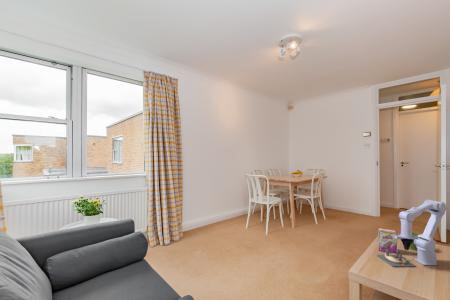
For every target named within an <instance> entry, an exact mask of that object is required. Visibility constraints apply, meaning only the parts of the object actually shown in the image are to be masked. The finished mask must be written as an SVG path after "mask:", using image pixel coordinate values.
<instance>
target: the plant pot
mask: <svg viewBox="0 0 450 300" xmlns="http://www.w3.org/2000/svg"><path fill="white" fill-rule="evenodd" d="M412 235H415V236H418V235H421V234H420V233H418V232H413V231H412ZM411 240H413V242H412V244H411V245H410V247H409V250H413V251H417V247H416V245H415V244H414V240H415V239H411Z"/></svg>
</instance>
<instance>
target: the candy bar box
mask: <svg viewBox="0 0 450 300" xmlns="http://www.w3.org/2000/svg"><path fill="white" fill-rule="evenodd" d="M395 235H398V233H397V231H396V230H394V229H386V228H380V227H379V228H378V238H377V239H378V251H380V252H384V253H386V249H387V250H389V253H394V254H396V250H397V249H398V246H397V245H398V239H396V238H395Z"/></svg>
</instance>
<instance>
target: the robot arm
mask: <svg viewBox="0 0 450 300" xmlns="http://www.w3.org/2000/svg"><path fill="white" fill-rule="evenodd" d="M447 209H448V207H447V205H446V202H443V201H436V200H433V199H425V200H424V201H423V203H421V204H420V205H419V206H417V207H416V206H412V207H411V208H410V209H407V210H402V211H400V212H399V213H398V218H399V221H400V234H397V235H395V238H396V239H397V240H400V241H401V243H402V246H403V249H404V250H406V251H409V250H410V249H409V247H410V245H411V244H412V242H413V240H411V239H415V240H414V244H415V245H416V247H417V250H416V251H417V258H413V259H414V261H415V262H418V263H420V264H422V265H424V266H438V265H439V264H438V263H437V253H436V251H435V249H436V244H437V242H436V240H435V239H434V236H435V234H436V232H437V229H438V227H439V225H440V223H441V221H442V219H443V216H445V213H446V211H447ZM426 211H427V212H429V213H430V217H429V218H428V221H427V224H426V225H425V228H424V231H423V233H421V234H420V235H418V236H415V235H412V232H413V222H414V221H415V219H416V218H417V217H419V216H421V215H422V213H423V212H426Z"/></svg>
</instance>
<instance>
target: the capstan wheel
mask: <svg viewBox="0 0 450 300" xmlns="http://www.w3.org/2000/svg"><path fill="white" fill-rule="evenodd" d="M400 251H401V250H400V249H398V248H397V250H396V254H394V253H389V250H387V249H386V252H384V255H385V258H386V259H387V260H389V261H391V262H394V263H398V264H405V263H406V260H407V258H406V257H404V256H403V255H402V254H401V252H400Z"/></svg>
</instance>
